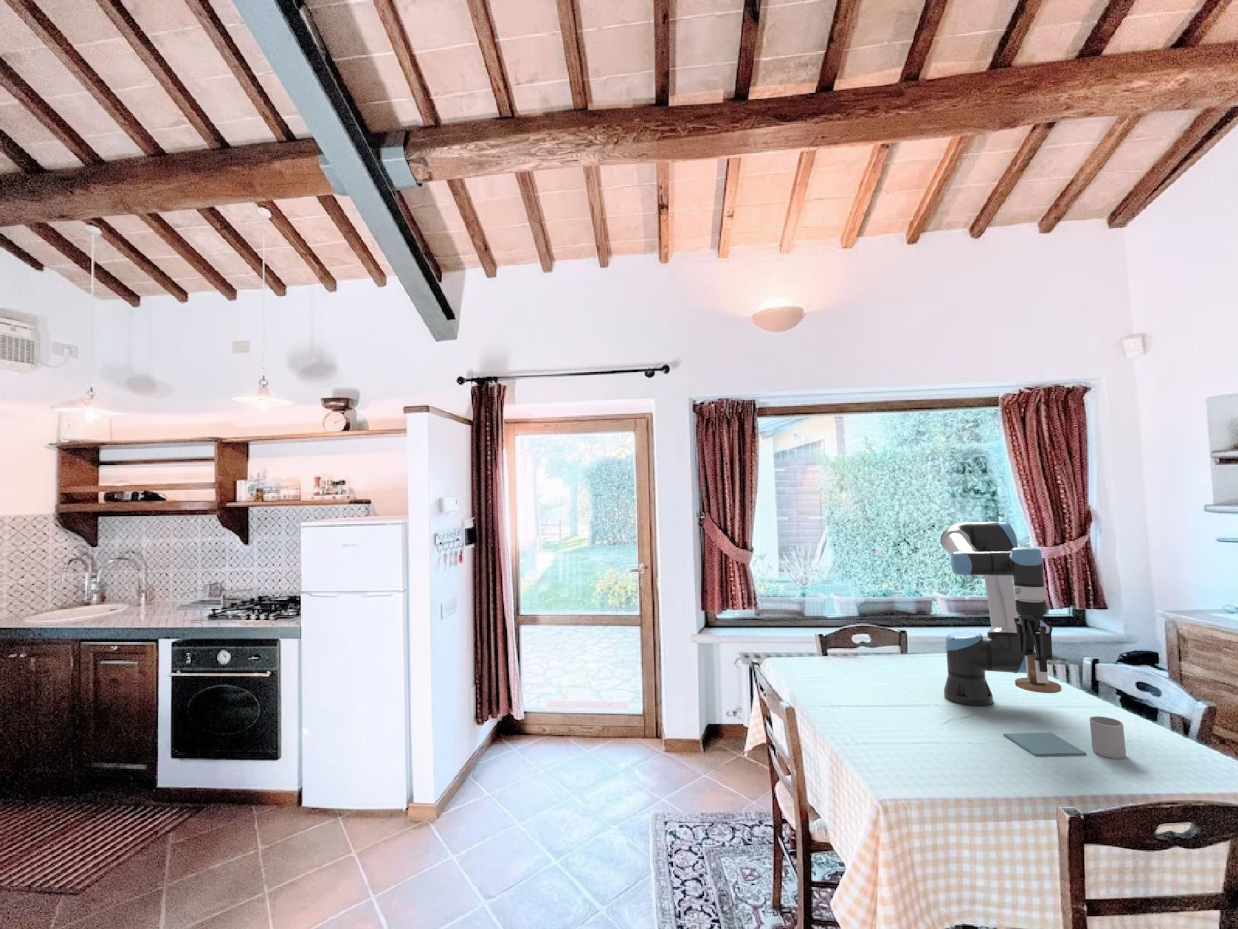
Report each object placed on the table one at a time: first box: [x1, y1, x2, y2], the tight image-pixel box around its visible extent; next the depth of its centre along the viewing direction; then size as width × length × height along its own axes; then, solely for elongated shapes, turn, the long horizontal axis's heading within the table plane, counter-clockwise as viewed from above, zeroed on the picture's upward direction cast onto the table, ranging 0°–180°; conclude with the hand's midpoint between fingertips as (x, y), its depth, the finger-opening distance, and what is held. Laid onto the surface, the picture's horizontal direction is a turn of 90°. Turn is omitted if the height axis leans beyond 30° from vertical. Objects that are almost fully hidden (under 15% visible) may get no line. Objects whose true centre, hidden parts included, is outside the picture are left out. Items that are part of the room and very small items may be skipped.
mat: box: [1003, 732, 1087, 757], centre depth 166 cm, size 14×14×1 cm
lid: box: [1014, 654, 1062, 694], centre depth 167 cm, size 11×11×9 cm
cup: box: [1089, 715, 1127, 760], centre depth 160 cm, size 7×10×9 cm
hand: (1037, 680), depth 167 cm, fingers closed on lid, 3 cm apart
